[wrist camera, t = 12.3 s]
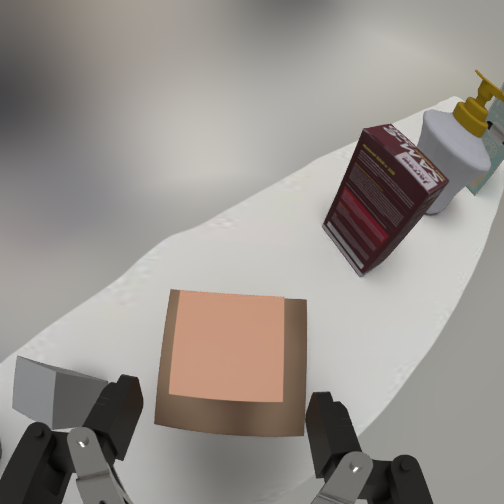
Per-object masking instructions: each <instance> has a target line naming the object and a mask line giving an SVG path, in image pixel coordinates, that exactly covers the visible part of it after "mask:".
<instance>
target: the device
mask: <svg viewBox="0 0 504 504" xmlns="http://www.w3.org/2000/svg"><path fill="white" fill-rule="evenodd" d="M500 90H501V91H503V93H504V83H503V85H502V87H501V89H500ZM485 121H486V122H487V124H488V128H487V130H486V131H485V133H484V134H483V136H482V141H483V144H484V147H485V149H486V151H487V153H488V155H489V157H490V161H491V167H490V169H489V170H488V172H487V173H485V174H482V175H480V176H479V177H477V178H476V179H474V180H472V181H471V182H470V183H469V184H467V185H466V187H467V188H468V189H469V190H470V191H471V192H472V193H473V194H474V196H475V195H476V193H477V192H478V191H479V190H480V189H481V188H482V186H483V185H484V184H485V183H486V181H487V180H488V179H489V178H490V177H491V175H492V174H493V173H494V171H495V170H496V169H497V168H498V166H499V165H500V164H501V162H502V161H503V160H504V102H503V101H501V100H499V99H498V98H495V100H494V102H493V104H492V105H491V107H490V109H489V111H488V116H487V118H486V119H485Z"/></svg>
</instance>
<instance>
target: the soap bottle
mask: <svg viewBox="0 0 504 504" xmlns="http://www.w3.org/2000/svg"><path fill="white" fill-rule="evenodd" d="M476 73H477V74H478V75H479V76H480V77H481V78H482V79H483V81H482V83H481V85H480V87H479V88H478V96H477V98H476V99H474V98H472V97H468V98H467V100H466V102H465V103H464V102H458V103H457V105H456V107H455V109H454V111H453V113H446V112H441V111H437V110H429V111H426V112H424V115H423V125H422V131H421V135H420V138H419V142H418V144H417V148H418V149H419V150H420V151H421V152H422V153H423V154H424V155H425V156H426V157H428V159H430V160H431V162H432V163H433V164H434V165H435V166H436V167H437V168H438V169H439V170H440V171H441V172H442V173H443V174H444V175H445V176H446V177H447V178H448V180H449V181H450V182H449V183H448V184H447V185H446V187H445V188H444V190H443V191H442V192H441V194H440V195H439V196H438V198H437V199H436V200H435V201H434V203H433V204H432V205H431V207H430V208H429V209H428V210H427V212H426V213H428V214H434V213H439V212H441V211H442V210H443V209H444V208H445V207H446V206H447V205H448V203H449V202H450V201H451V200H452V199H453V198H454V196H455V195H456V194H457V193H458V192H459V191H460V190H461V189H462V188H464V187H465V186H466V185H467V184H469V183H470V182H471V181H472V180H474V179H476V178H477V177H479V176H480V175H482V174H485V173H487V172H488V170H489V169H490V167H491V161H490V157H489V155H488V153H487V151H486V149H485V147H484V144H483V141H482V136H483V134H484V133H485V131H486V130H487V128H488V124H487V122H486V121H485V119H486V118H487V116H488V111H487V109H486V108H485V107H484V105H485V104H486V102H487V101H490V100H491V98H492V96H493V95H494V96H495V97H496V98H498V99H499V100H501V101H503V102H504V93H503V91H501V90H500V89H499V88H497V87H496V86H495V85H493V84H492V83H491V82H489V81H488V80H487V79H486V78H485V77H483V75H482V74H481V73H479V72H478V71H477V70H476Z"/></svg>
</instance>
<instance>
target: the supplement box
mask: <svg viewBox="0 0 504 504" xmlns="http://www.w3.org/2000/svg"><path fill="white" fill-rule="evenodd" d="M449 182H450V181H449V180H448V178H447V177H446V176H445V175H444V174H443V173H442V172H441V171H440V170H439V169H438V168H437V167H436V166H435V165H434V164H433V163H432V162H431V160H430V159H428V157H426V156H425V155H424V154H423V153H422V152H421V151H420V150H419V149H418V148H417V147H416V146H415V145H414V144H413V143H412V142H411V141H410V140H409V139H407V138H406V137H405V136H404V135H403V134H402V133H401V132H400V131H398V130H397V129H396V128H395V127H394V126H393V125H392V124H386V125H380V126H375V127H370V128H364V129H363V131H362V133H361V136H360V138H359V141H358V143H357V146H356V148H355V151H354V153H353V156H352V158H351V160H350V163H349V165H348V168H347V170H346V173H345V175H344V177H343V180H342V182H341V185H340V187H339V189H338V192H337V194H336V196H335V198H334V201H333V203H332V205H331V208H330V210H329V212H328V214H327V216H326V219H325V221H324V223H323V225H322V227H323V228H324V230H325V231H326V232H327V234H328V235H329V236H330V237H331V239H332V240H333V241H334V243H335V244H336V245H337V246H338V248H339V249H340V250H341V252H342V253H343V254H344V256H345V257H346V258H347V260H348V261H349V262H350V264H351V265H352V267H353V268H354V269H355V271H356V272H357V273H358V275H359V276H360V277H361V276H363V275H365V274H366V273H368V272H369V271H370V270H372V269H373V268H375V267H376V266H377V265H379V264H380V263H382V262H383V261H384V260H385V259H386V258H387V257H388V256H389V255H390V254H391V252H392V251H393V250H394V249H395V248H396V247H397V246H398V245H399V243H400V242H401V241H402V240H403V239H404V238H405V237H406V235H407V234H408V233H409V232H410V231H411V229H412V228H413V227H414V226H415V225H416V224H417V222H418V221H419V220H420V219H421V218H422V216H423V215H424V214H425V213H426V212H427V210H428V209H429V208H430V207H431V205H432V204H433V203H434V201H435V200H436V199H437V198H438V196H439V195H440V194H441V192H442V191H443V190H444V188H445V187H446V185H447V184H448V183H449Z"/></svg>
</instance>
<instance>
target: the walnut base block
mask: <svg viewBox="0 0 504 504" xmlns="http://www.w3.org/2000/svg"><path fill="white" fill-rule="evenodd" d="M179 295H180V290H174V289H171V291H170V296H169V302H168V309H167V315H166V321H165V328H164V335H163V343H162V350H161V358H160V367H159V375H158V385H157V396H156V407H155V421H154V424H156V425H161V426H167V427H172V428H178V429H184V430H191V431H198V432H206V433H216V434H226V435H240V436H267V437H285V436H304V422H305V401H306V367H307V300H305V299H286V298H284V375H283V402H250V401H230V400H217V399H206V398H197V397H188V396H181V395H173V394H169V385H170V373H171V362H172V352H173V343H174V334H175V326H176V318H177V310H178V303H179Z"/></svg>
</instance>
